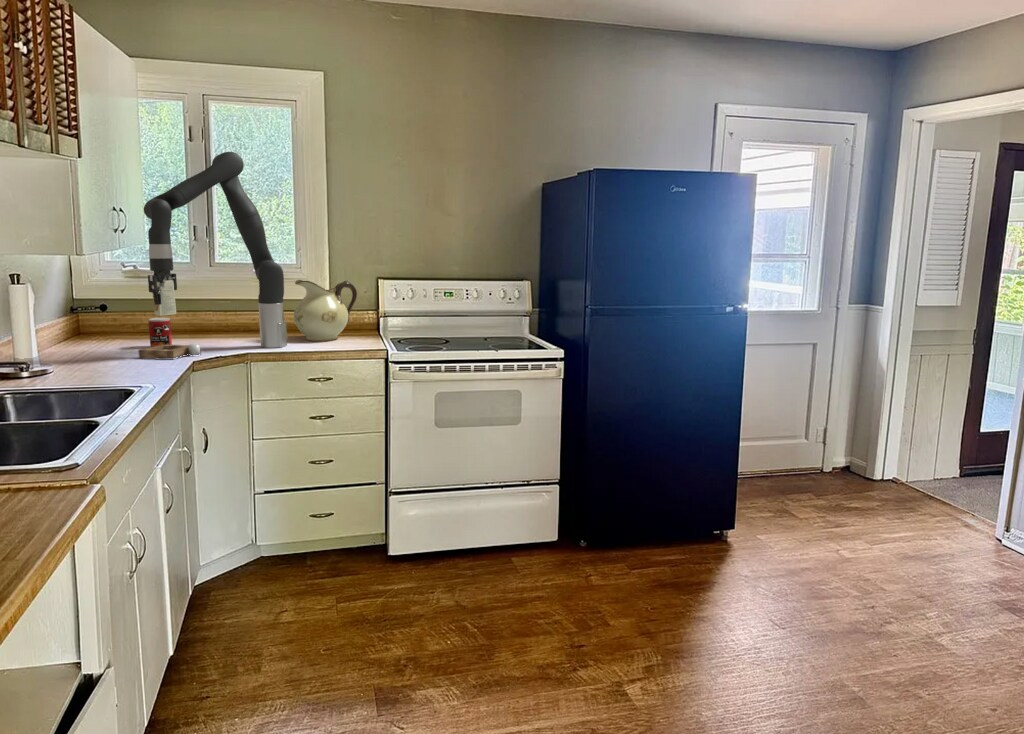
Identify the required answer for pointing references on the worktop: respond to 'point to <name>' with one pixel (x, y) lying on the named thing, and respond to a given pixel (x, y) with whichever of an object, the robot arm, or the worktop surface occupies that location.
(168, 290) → the skincare box
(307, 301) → the pitcher
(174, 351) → the holder
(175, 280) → the robot arm
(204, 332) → the worktop surface
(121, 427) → the worktop surface
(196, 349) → the grey round ball
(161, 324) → the canned food
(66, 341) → the worktop surface
